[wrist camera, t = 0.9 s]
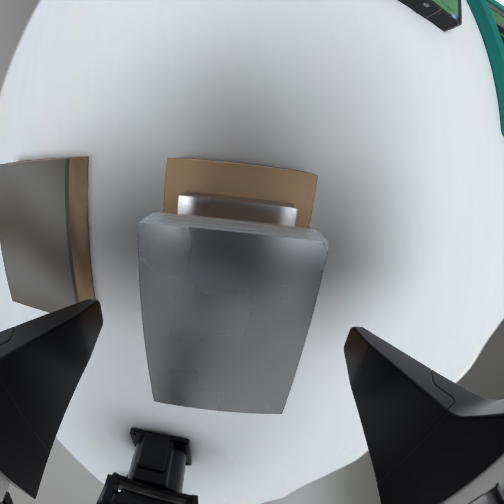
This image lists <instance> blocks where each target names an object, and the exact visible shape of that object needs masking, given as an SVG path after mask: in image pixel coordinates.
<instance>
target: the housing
mask: <svg viewBox="0 0 504 504" xmlns="http://www.w3.org/2000/svg"><path fill="white" fill-rule="evenodd" d="M296 213H297V208H296V207H295V206H294V205H293V204H292V203H286V202H279V201H271V200H263V199H254V198H246V197H237V196H227V195H217V194H207V193H196V192H184V193H182V194H180V195H179V199H178V214H171V213H159V212H153V213H151V214H150V215H148V216H147V217H145V218H144V219H142V220H141V221H139V222H138V258H139V282H140V298H141V310H142V321H143V331H144V340H145V348H146V355H147V362H148V369H149V375H150V381H151V387H152V393H153V398H154V401H156V402H161V403H167V404H172V405H178V406H185V407H192V408H199V409H208V410H217V411H228V412H241V413H262V414H282V412H283V409H284V407H285V404H286V401H287V398H288V395H289V392H290V389H291V386H292V383H293V380H294V376H295V373H296V370H297V367H298V364H299V360H300V357H301V354H302V350H303V347H304V344H305V340H306V337H307V333H308V329H309V326H310V322H311V318H312V315H313V311H314V307H315V303H316V299H317V295H318V291H319V287H320V283H321V279H322V275H323V270H324V266H325V262H326V257H327V253H328V248H329V242H328V241H327V239H326V238H325V237H324V236H323V235H322V234H321V233H320V232H319V231H318V230H316V229H308V228H300V227H294V225H295V219H296Z"/></svg>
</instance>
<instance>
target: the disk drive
mask: <svg viewBox="0 0 504 504" xmlns="http://www.w3.org/2000/svg"><path fill="white" fill-rule="evenodd" d="M398 1H400V2H401V3H403V4H405V5H406V6H408V7H410V8H411V9H412V10H413V11H415V12H416V13H418V14H420V15H421V16H423V17H424V18H426V19H428V20H429V21H430V22H432V23H433V24H435V25H436V26H437V27H438V28H440V29H441V30H443V31H444V32H446V31H448V30H451V29H453V28H455V27H457V26H459V25H461V24H462V14H461V12H462V10H461V0H398Z"/></svg>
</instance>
